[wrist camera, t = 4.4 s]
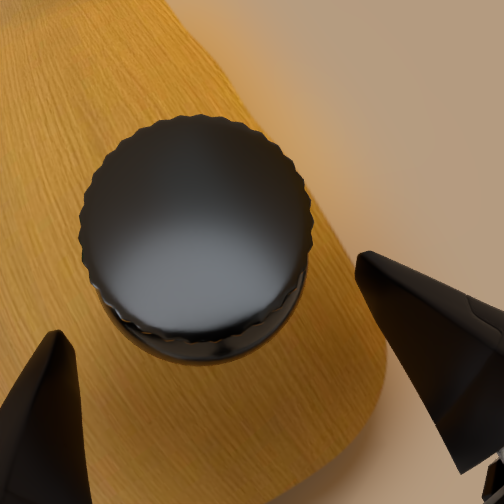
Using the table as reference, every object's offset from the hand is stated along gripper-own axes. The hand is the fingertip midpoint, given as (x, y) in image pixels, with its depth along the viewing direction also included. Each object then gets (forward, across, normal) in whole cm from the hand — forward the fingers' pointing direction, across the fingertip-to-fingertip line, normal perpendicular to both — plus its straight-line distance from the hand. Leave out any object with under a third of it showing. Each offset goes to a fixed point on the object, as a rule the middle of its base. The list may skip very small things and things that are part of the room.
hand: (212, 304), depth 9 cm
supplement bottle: (+8, 0, +5) cm, 9 cm away
